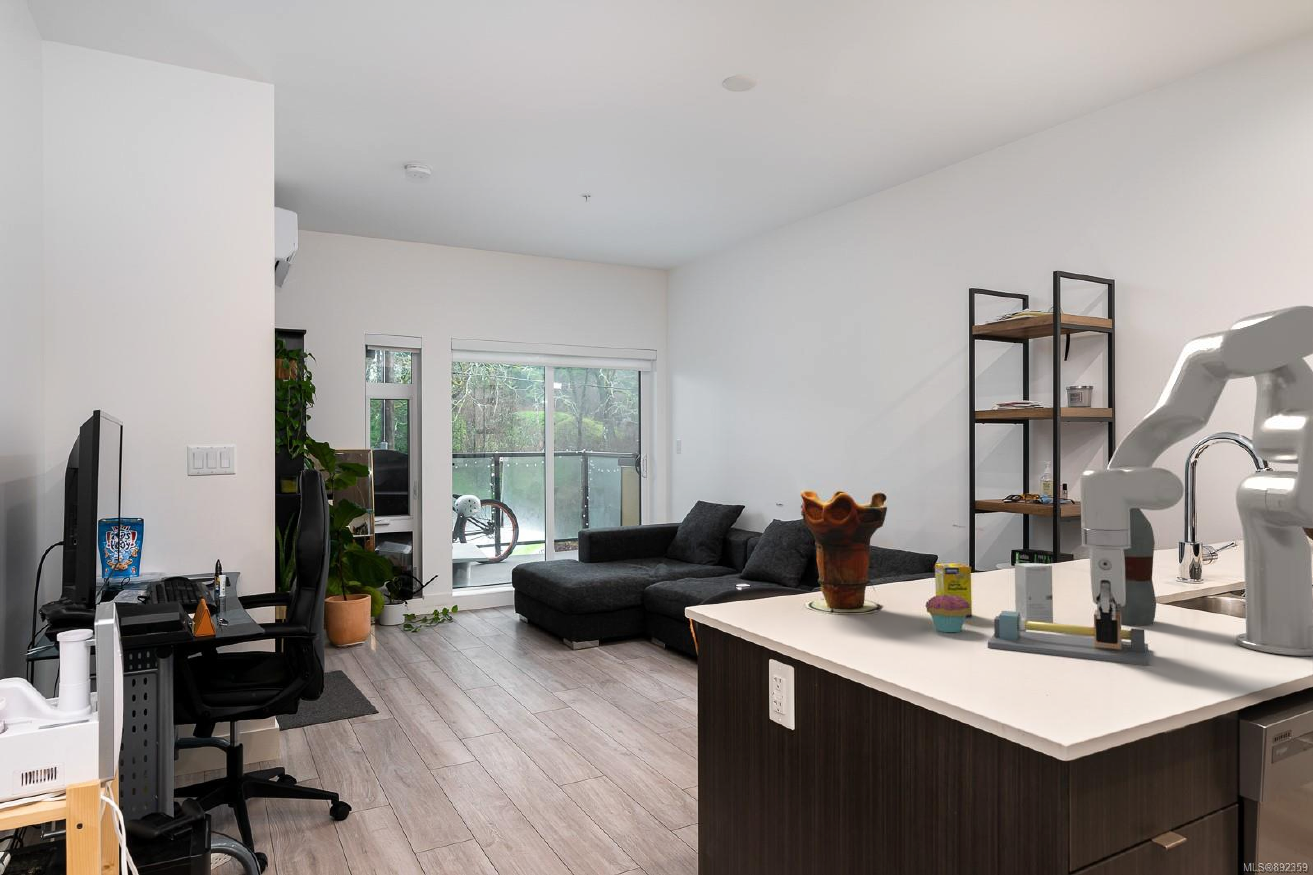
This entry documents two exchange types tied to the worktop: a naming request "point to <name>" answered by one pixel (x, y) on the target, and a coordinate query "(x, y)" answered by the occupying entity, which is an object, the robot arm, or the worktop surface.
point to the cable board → (1064, 640)
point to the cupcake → (948, 610)
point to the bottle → (1139, 573)
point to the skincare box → (1034, 592)
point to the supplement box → (955, 581)
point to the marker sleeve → (1118, 645)
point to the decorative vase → (843, 549)
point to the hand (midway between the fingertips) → (1108, 636)
